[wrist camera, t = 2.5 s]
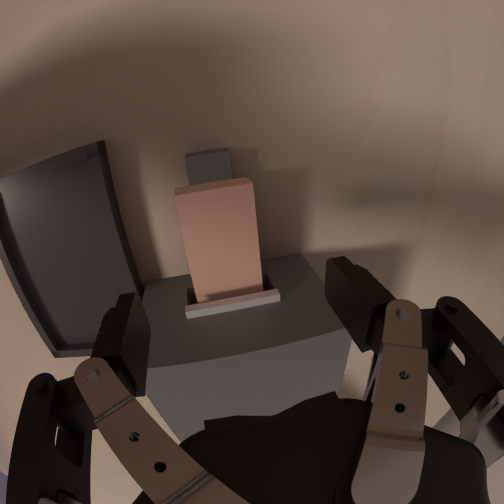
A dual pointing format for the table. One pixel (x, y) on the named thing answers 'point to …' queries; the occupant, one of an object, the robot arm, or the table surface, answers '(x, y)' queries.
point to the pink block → (220, 238)
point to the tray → (66, 246)
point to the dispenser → (240, 338)
